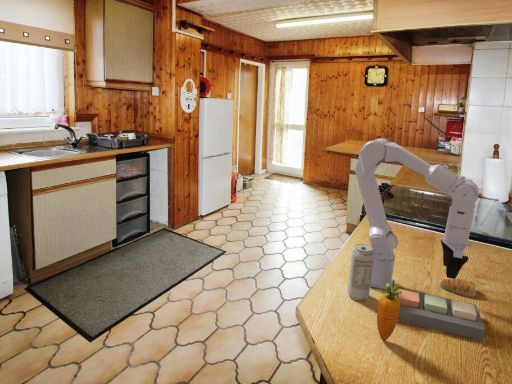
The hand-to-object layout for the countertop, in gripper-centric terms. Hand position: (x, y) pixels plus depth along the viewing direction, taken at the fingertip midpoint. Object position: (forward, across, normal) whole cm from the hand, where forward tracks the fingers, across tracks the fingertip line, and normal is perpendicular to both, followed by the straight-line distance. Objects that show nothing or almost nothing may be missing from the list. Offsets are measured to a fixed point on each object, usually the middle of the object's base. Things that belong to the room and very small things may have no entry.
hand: (449, 271), depth 101 cm
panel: (+9, -9, +3) cm, 14 cm away
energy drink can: (+10, -7, +23) cm, 26 cm away
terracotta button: (+8, -9, +10) cm, 16 cm away
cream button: (+8, -9, -3) cm, 13 cm away
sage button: (+8, -9, +3) cm, 13 cm away
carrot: (+10, -25, +15) cm, 31 cm away
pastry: (+10, +9, -5) cm, 15 cm away
